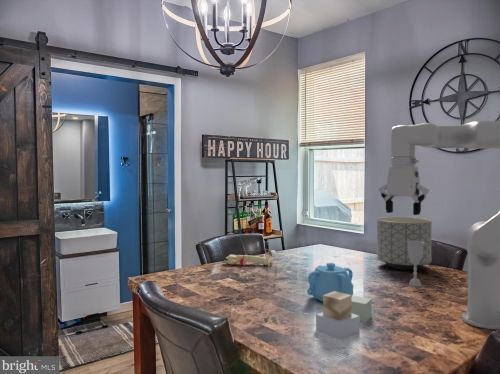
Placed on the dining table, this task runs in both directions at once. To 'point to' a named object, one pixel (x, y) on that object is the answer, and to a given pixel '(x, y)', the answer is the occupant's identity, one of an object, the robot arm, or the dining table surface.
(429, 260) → the planter
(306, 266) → the dining table surface
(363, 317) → the sage cube
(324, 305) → the maple cube
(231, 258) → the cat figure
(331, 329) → the base block
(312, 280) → the decorative pot
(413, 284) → the chalice
